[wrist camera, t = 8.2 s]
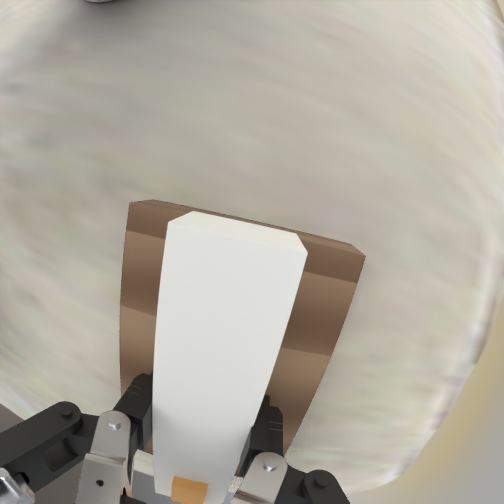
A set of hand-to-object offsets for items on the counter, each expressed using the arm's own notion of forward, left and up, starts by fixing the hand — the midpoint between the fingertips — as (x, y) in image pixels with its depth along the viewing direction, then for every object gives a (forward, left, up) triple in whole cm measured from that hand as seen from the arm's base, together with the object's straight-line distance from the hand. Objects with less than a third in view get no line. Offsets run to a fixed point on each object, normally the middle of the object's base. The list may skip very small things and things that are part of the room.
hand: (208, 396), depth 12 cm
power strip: (0, 0, -3) cm, 3 cm away
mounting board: (0, 0, -3) cm, 3 cm away
